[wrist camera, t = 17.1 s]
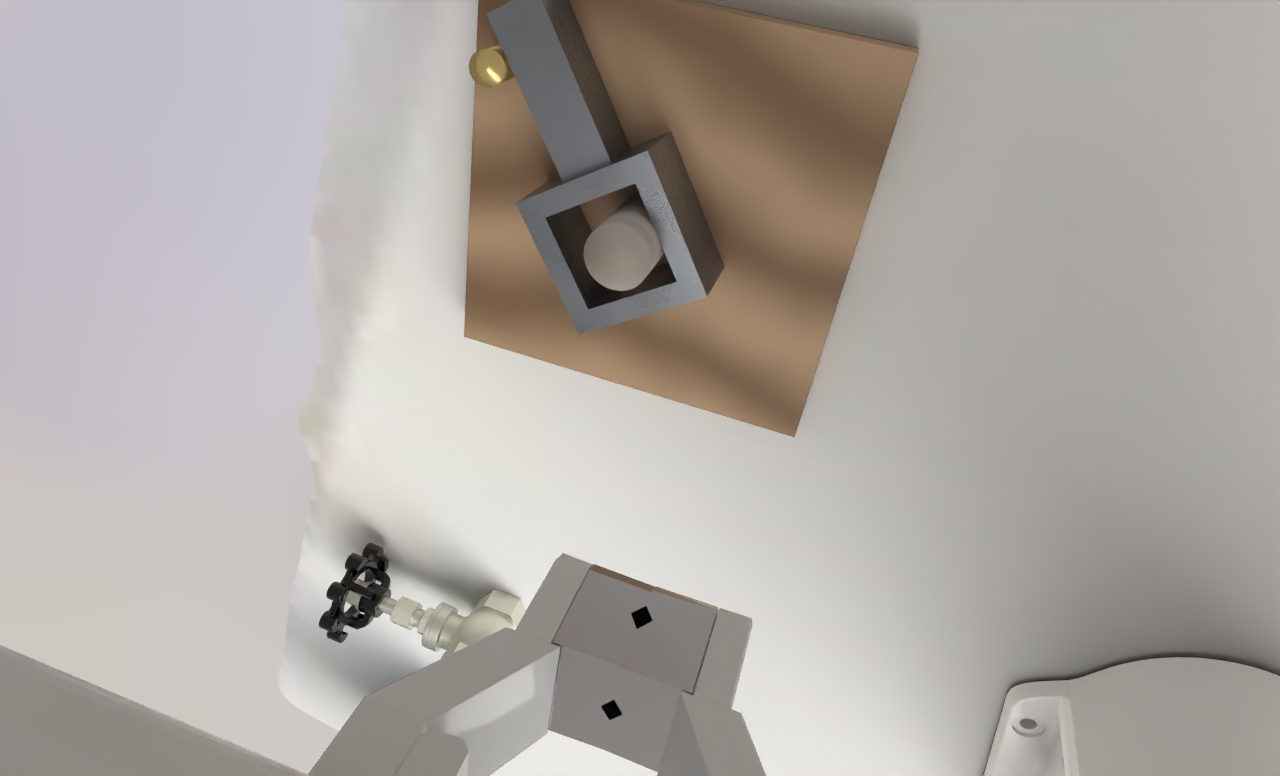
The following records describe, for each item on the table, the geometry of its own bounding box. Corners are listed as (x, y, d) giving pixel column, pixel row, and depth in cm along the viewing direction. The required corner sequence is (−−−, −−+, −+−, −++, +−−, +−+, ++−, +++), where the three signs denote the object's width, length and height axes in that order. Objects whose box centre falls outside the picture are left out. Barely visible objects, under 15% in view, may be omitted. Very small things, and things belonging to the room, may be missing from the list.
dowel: (543, 73, 36) (499, 91, 33) (515, 66, 37) (468, 83, 33) (546, 40, 36) (501, 54, 32) (517, 33, 36) (469, 47, 32)
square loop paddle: (724, 266, 37) (707, 296, 34) (604, 304, 39) (578, 334, 37) (604, -40, 32) (571, -36, 29) (477, 27, 35) (435, 37, 32)
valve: (540, 587, 53) (378, 523, 55) (495, 664, 48) (317, 589, 49) (527, 651, 57) (375, 588, 58) (484, 729, 51) (318, 657, 53)
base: (798, 421, 41) (778, 497, 36) (477, 324, 44) (414, 381, 39) (918, 48, 31) (916, 75, 26) (496, -43, 34) (416, -35, 29)
